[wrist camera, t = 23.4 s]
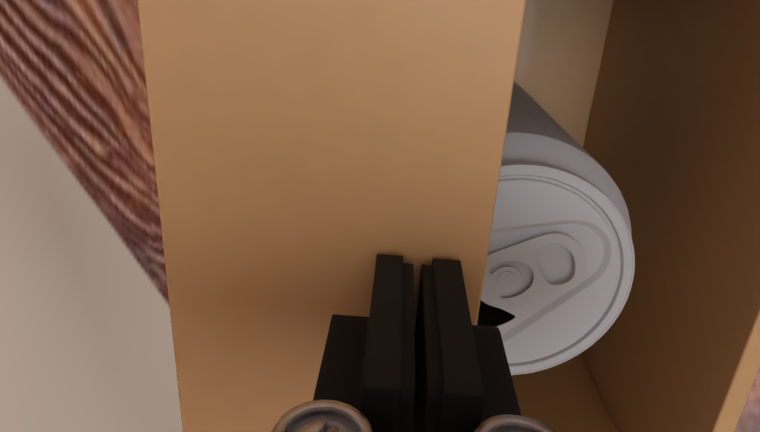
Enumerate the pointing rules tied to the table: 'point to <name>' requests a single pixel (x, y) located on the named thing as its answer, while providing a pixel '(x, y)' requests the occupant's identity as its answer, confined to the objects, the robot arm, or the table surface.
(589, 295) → the beverage can
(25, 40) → the table surface
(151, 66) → the flap
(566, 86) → the carton
